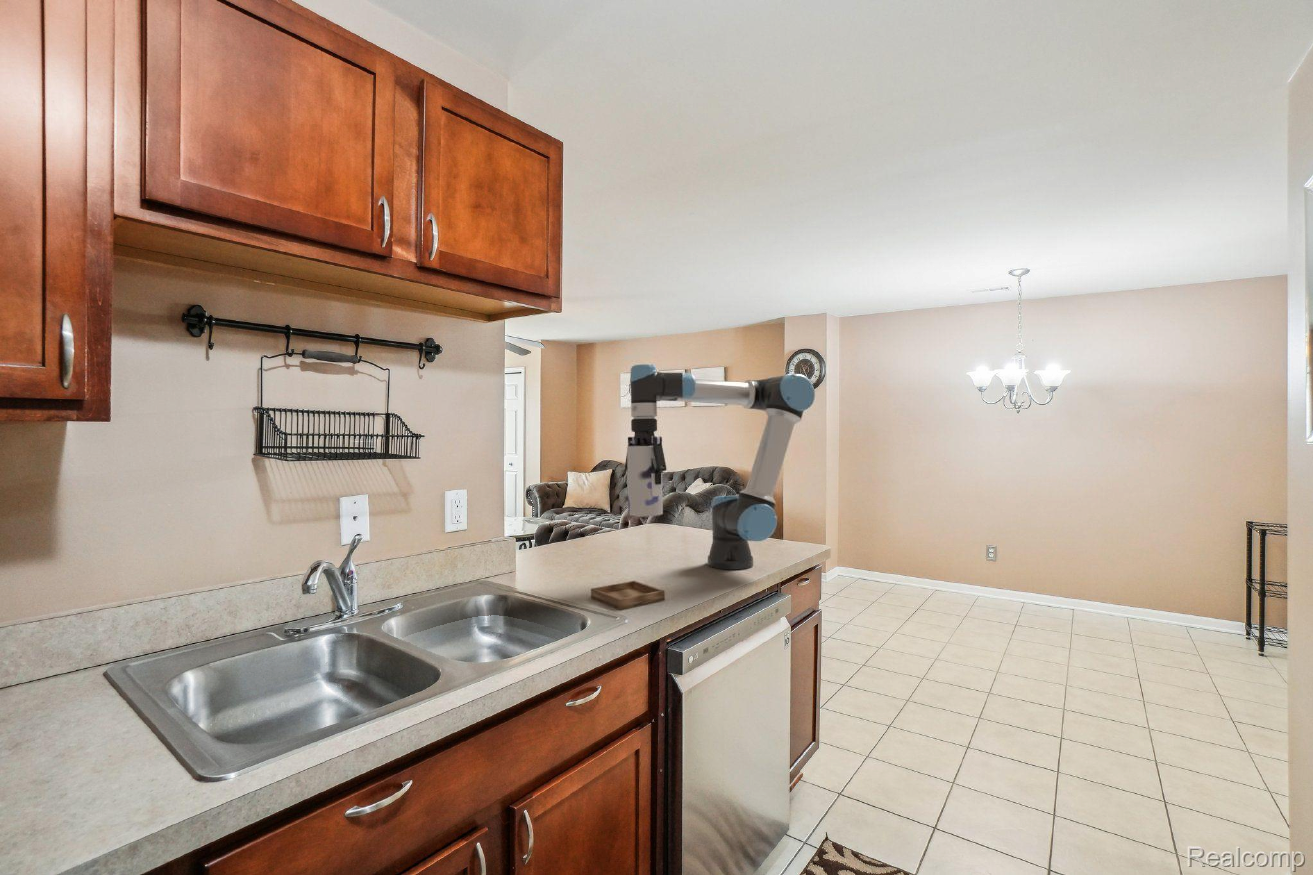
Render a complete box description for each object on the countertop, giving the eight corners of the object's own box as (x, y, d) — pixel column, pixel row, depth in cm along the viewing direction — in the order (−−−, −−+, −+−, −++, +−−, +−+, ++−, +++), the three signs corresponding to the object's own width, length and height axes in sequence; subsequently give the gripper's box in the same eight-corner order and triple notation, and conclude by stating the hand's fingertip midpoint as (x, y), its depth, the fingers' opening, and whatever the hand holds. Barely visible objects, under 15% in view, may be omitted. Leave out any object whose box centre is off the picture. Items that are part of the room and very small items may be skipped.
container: (648, 517, 166) (647, 446, 166) (621, 515, 172) (620, 446, 172) (669, 513, 174) (668, 445, 174) (642, 511, 180) (641, 445, 180)
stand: (634, 589, 167) (634, 580, 167) (664, 600, 156) (664, 590, 156) (591, 598, 159) (590, 588, 159) (619, 610, 148) (619, 599, 148)
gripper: (612, 419, 180) (613, 493, 180) (657, 416, 162) (658, 498, 162) (632, 419, 184) (633, 491, 185) (678, 416, 166) (679, 496, 167)
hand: (645, 494), depth 173 cm, fingers closed on container, 10 cm apart
